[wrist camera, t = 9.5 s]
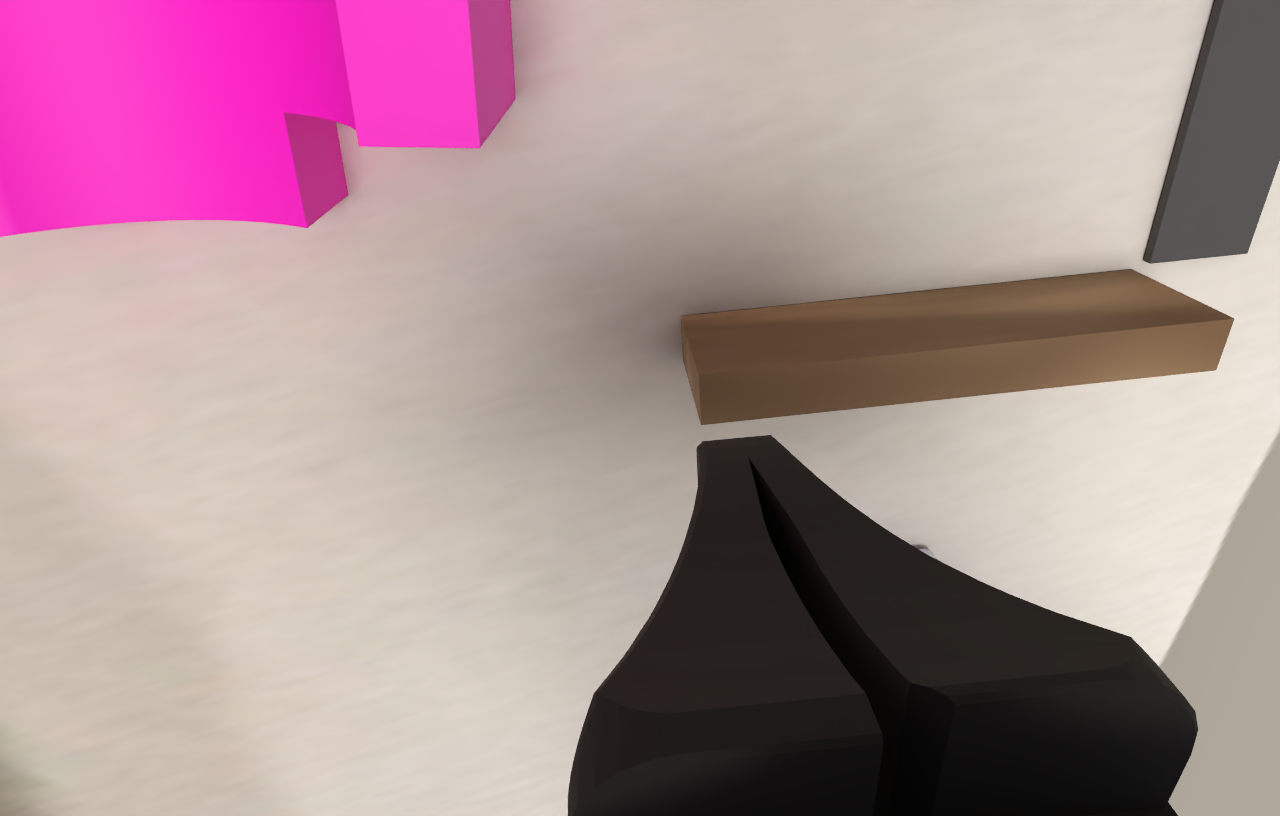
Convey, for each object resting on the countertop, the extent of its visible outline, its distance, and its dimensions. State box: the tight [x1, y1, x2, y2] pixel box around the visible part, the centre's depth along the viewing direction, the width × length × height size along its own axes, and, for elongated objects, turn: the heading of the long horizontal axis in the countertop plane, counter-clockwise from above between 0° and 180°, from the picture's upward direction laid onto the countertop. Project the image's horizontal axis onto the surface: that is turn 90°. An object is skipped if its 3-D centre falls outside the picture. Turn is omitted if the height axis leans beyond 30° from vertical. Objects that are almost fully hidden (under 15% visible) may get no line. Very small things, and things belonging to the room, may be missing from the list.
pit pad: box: [1144, 0, 1280, 263], centre depth 19 cm, size 9×3×1 cm, turn 5°
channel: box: [681, 269, 1234, 425], centre depth 18 cm, size 12×14×4 cm
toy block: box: [0, 0, 515, 237], centre depth 15 cm, size 15×6×8 cm, turn 88°
